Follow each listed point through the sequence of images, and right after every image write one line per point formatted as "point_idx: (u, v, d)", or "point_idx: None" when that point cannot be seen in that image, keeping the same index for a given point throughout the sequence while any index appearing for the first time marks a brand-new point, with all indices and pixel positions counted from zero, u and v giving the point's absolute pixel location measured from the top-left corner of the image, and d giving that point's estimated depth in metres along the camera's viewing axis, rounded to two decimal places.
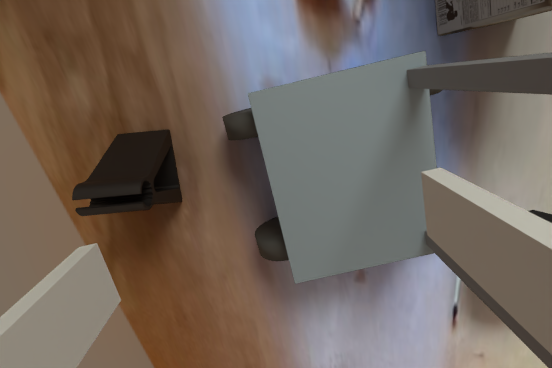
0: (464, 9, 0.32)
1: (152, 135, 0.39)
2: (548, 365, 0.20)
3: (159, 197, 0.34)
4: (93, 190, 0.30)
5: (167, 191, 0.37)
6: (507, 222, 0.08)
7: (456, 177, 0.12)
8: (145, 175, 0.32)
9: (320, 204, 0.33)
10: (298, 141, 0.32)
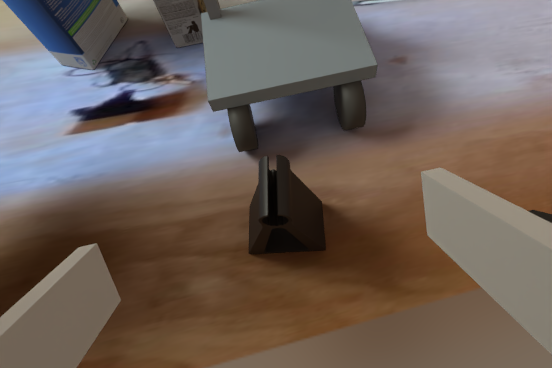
0: (189, 13, 0.53)
1: (250, 215, 0.41)
2: None
3: None
4: (261, 197, 0.30)
5: None
6: (507, 222, 0.08)
7: (456, 177, 0.12)
8: None
9: (300, 53, 0.41)
10: (248, 69, 0.41)
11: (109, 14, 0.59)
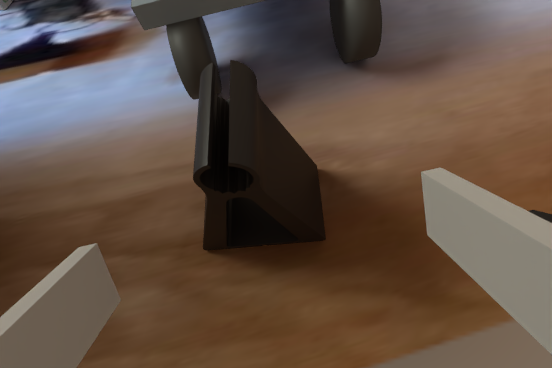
0: None
1: None
2: None
3: None
4: (199, 135, 0.15)
5: None
6: (507, 222, 0.08)
7: (456, 177, 0.12)
8: None
9: None
10: None
11: None
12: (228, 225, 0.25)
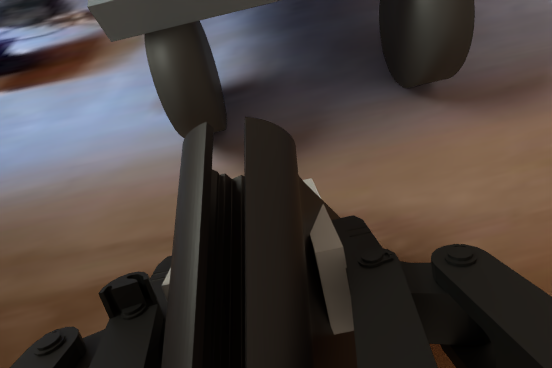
0: None
1: None
2: None
3: None
4: (171, 312, 0.06)
5: None
6: None
7: (313, 187, 0.14)
8: None
9: None
10: None
11: None
12: None
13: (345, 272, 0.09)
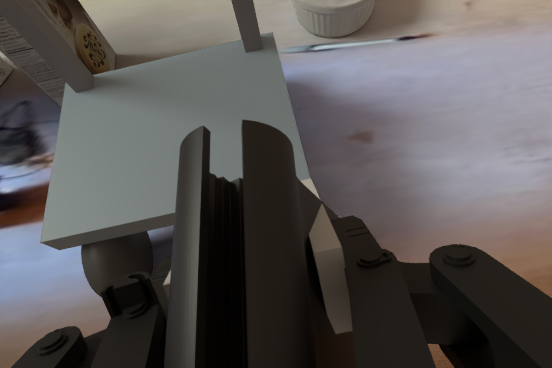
0: None
1: None
2: None
3: None
4: (173, 318, 0.06)
5: None
6: None
7: (312, 187, 0.14)
8: None
9: None
10: (111, 184, 0.26)
11: None
12: None
13: (344, 272, 0.09)
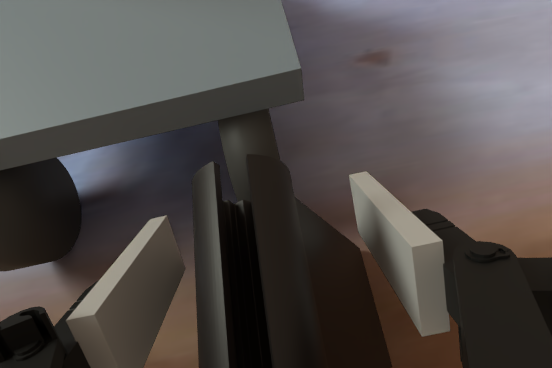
0: None
1: None
2: None
3: None
4: (204, 328, 0.08)
5: None
6: (388, 219, 0.10)
7: (373, 180, 0.13)
8: None
9: (120, 44, 0.17)
10: None
11: None
12: None
13: (442, 268, 0.08)
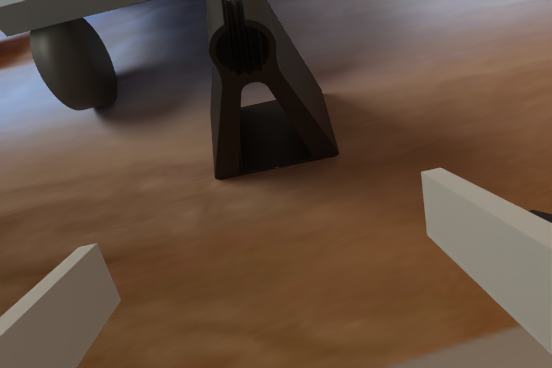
0: None
1: None
2: None
3: None
4: (210, 7, 0.15)
5: None
6: (507, 222, 0.08)
7: (456, 177, 0.12)
8: None
9: None
10: None
11: None
12: None
13: None
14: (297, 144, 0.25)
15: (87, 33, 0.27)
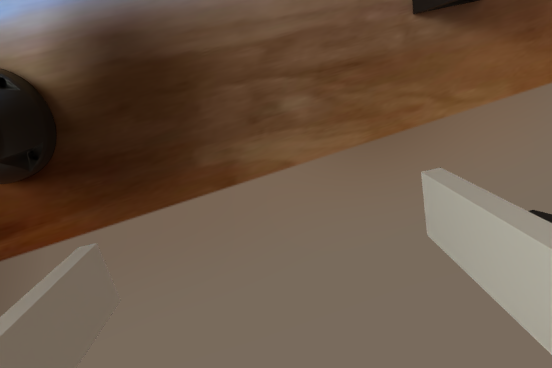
0: None
1: None
2: None
3: None
4: None
5: None
6: (507, 222, 0.08)
7: (456, 177, 0.12)
8: None
9: None
10: None
11: None
12: None
13: None
14: None
15: None
